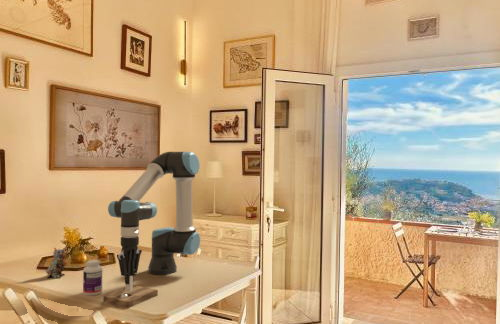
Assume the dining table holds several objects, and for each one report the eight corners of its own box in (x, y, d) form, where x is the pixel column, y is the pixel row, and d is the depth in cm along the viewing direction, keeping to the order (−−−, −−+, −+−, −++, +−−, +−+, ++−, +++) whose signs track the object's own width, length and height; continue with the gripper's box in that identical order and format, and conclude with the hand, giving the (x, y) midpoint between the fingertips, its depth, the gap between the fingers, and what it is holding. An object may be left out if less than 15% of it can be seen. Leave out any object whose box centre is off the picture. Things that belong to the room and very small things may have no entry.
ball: (117, 300, 175) (119, 292, 176) (122, 301, 178) (124, 293, 179) (123, 302, 173) (125, 293, 174) (129, 302, 176) (131, 294, 177)
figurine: (57, 273, 218) (57, 244, 218) (69, 275, 214) (69, 246, 214) (42, 277, 210) (43, 247, 210) (55, 279, 206) (55, 249, 206)
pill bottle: (86, 290, 190) (86, 259, 190) (104, 290, 191) (104, 259, 191) (80, 296, 182) (80, 263, 182) (99, 296, 183) (99, 263, 183)
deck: (103, 302, 175) (103, 296, 175) (133, 290, 191) (133, 285, 191) (128, 308, 169) (128, 301, 169) (157, 295, 185) (157, 289, 185)
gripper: (125, 239, 171) (124, 296, 171) (146, 234, 183) (146, 288, 183) (112, 237, 174) (111, 293, 175) (133, 233, 186) (133, 285, 186)
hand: (129, 290), depth 179 cm, fingers closed
